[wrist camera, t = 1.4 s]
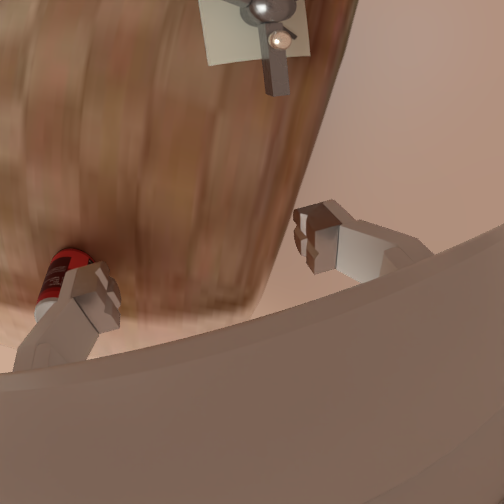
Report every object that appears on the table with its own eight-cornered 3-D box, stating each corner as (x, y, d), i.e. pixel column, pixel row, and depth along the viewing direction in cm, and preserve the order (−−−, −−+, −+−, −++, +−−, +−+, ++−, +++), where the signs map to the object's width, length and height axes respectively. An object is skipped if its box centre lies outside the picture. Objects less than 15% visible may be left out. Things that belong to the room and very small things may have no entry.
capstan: (167, -22, 19) (169, -41, 14) (325, -27, 22) (356, -37, 17) (188, 104, 29) (194, 114, 24) (335, 85, 32) (367, 93, 27)
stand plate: (194, -24, 21) (196, -28, 20) (295, -27, 23) (300, -30, 22) (208, 65, 29) (210, 65, 27) (304, 55, 30) (311, 56, 29)
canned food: (94, 292, 42) (87, 347, 34) (49, 279, 38) (33, 333, 30) (104, 255, 39) (95, 311, 31) (54, 240, 35) (34, 293, 27)
